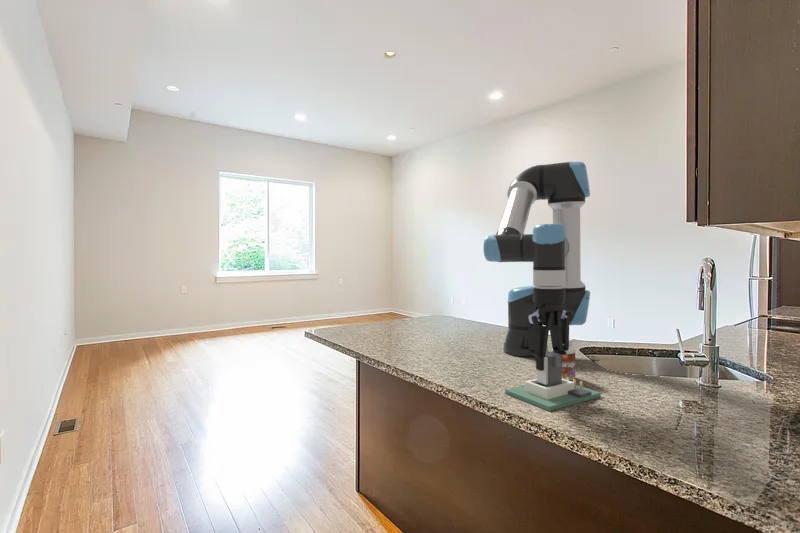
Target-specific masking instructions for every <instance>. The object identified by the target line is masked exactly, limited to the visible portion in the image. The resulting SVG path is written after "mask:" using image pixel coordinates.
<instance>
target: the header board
mask: <svg viewBox="0 0 800 533" xmlns="http://www.w3.org/2000/svg"><path fill="white" fill-rule="evenodd" d="M576 383H577V379H575V378H574V379H572V380H569V377H567V380H565V379H563V376H562V384H559V385H555V386H551V387H547V388H546V387H543V386H541V385H538V384H537V378H534V379H530V380H525V381H524V385H519V386H516V387H512V388H507V389H505V390H504V391H505V392H504V394H505V395H508V396H510V397H513V398H515V399H518V400H520V401H522V402H525V403H527V404H529V405H530V404H531V405H532V406H535V407H538V408H540V409H543V410H545V411H548V412H551V411H555V410H559V409H562V408H565V407H569V406H572V405H577V404H580V403H583V402H586V401H590V400H593V399H598V398H601V397H602V394H601V392H599V391H596V390H593V389H590V388H587V387H584V386H583V381H579V385H577V384H576Z"/></svg>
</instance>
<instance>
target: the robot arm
mask: <svg viewBox="0 0 800 533" xmlns="http://www.w3.org/2000/svg"><path fill="white" fill-rule="evenodd" d="M589 183H590V182H589V176H588V171H587V166H586V164H585V163H584V162H583V161H566V162H565V161H564V162H556V163H547V164H537V165H532V166H531V167H528V168H526V169H525V170H523V171H522V172H521V173H519V174H518V175H517V176H516V177H515V178H514V179H513V180H512V181H511V183H510V185H509V186H508V190H507V195H506V196H507V202H506V204H505V208H504V210H503V214H502V216H501V219H500V222H499V225H498V228H497V231H496V234H491V235H487V236H485V238H484V240H483V255H484V258H485V260H486V261H488V262H491V263H492V262H494V263H495V262H496V263H526V262H527V263H532V273H533V274H532V278H533V280H532V282H533V283H532V284H533V285H527V286H526V285H525V286H519V287H515V288H512V289H510V290H509V292H508V297H507V310H508V311H507V312H508V313H507V320H508V322H507V323H508V326H507V327H508V328H507V333H506V337H505V342H504V343H503V353H505V354H508V355H511V356H516V357H527V358H528V357H530V358H531V357H535V369H536V375H537V376H536V379H537V382H539V383H542V384H545V385H547V384H548V358H547V357H545V355H546V352H548V351H549V346H548V340H549V335H550V340H551V349H552V348H553V352H554V353H557V354H561V355H562V354H563V355H566V352H565V351H568V349H569V338H570V326H571V327H572V326H583V325H585V323H586V322H587V317H588V313H589V312H588V311H589V305H590V296H591V292H590V290H586V284H585V283H584V282H583V281H582V280H581V278H582V277H581V208H582V207H583V206H584V205H585V204H586V198H588V197H590V196H591V192H590V191H591V190H590V184H589ZM541 200H542V201H543V200H544V201H545V200H547V205H548V206H549V208H551V210H552V223H542V224H541V223H540V224H536V225H534V226H533V229H532V234H531V233H530V234H529V233H527V234H525V231H526V226H527V224H528V220H529V219H528V218H529V216H530V212H531V208H532V205H533V204H534V203H535V202H537V201H541ZM563 344H564V345H563Z"/></svg>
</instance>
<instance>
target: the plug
mask: <svg viewBox="0 0 800 533" xmlns="http://www.w3.org/2000/svg"><path fill="white" fill-rule="evenodd" d="M545 357H547V358H548V384H547V385H545V384H542V383H539V382H537V384H538V385H541V386H543V387H546V388H547V387H551V386H555V385H559V384H562V355H561V354H557V353H553V352H552V351H549V350H548V352H546V355H545Z"/></svg>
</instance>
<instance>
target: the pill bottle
mask: <svg viewBox="0 0 800 533" xmlns="http://www.w3.org/2000/svg"><path fill="white" fill-rule="evenodd" d="M563 345H564V344H563ZM551 352H553V348H552V347H551ZM565 352H566V355H563V354H562V376H563V379H565V380H567V377H569V381H573V379H575V378H576V348H575V347H574V346H573V338H571V337H569V349H568V351H565ZM553 353H554V352H553Z"/></svg>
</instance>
